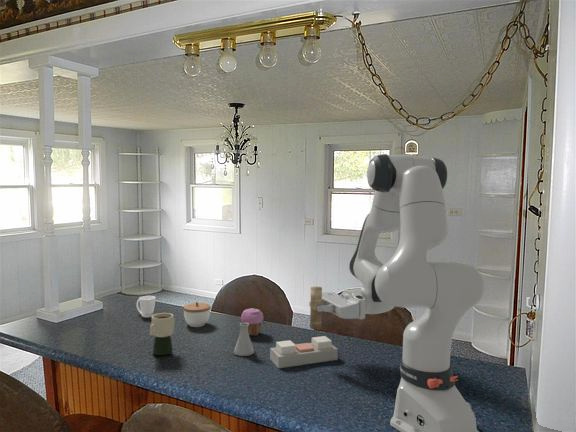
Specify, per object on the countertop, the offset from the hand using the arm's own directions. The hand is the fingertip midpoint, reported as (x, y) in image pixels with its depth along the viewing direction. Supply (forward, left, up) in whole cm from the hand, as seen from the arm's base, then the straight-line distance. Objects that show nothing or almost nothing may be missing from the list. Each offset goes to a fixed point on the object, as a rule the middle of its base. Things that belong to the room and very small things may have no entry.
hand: (313, 306), depth 138 cm
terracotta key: (+4, +1, -17) cm, 18 cm away
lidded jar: (+51, +28, -19) cm, 61 cm away
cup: (+71, +47, -19) cm, 87 cm away
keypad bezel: (+4, +1, -19) cm, 19 cm away
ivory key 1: (+4, +8, -15) cm, 18 cm away
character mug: (+24, +44, -19) cm, 54 cm away
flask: (+16, +18, -19) cm, 31 cm away
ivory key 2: (+4, -5, -15) cm, 17 cm away
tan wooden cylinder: (0, -1, -7) cm, 7 cm away
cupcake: (+33, +10, -19) cm, 39 cm away
